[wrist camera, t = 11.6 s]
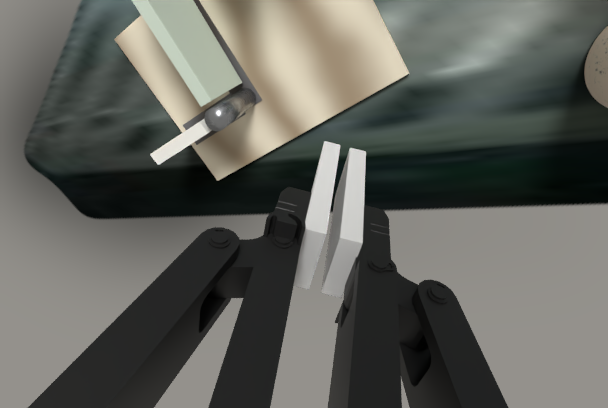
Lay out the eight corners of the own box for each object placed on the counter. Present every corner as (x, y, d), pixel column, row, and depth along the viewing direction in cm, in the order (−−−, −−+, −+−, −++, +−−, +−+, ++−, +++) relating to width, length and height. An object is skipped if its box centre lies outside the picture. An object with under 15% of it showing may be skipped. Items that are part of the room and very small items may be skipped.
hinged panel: (154, -42, 36) (100, -49, 29) (163, -50, 35) (110, -59, 29) (233, 88, 40) (201, 107, 33) (242, 82, 39) (211, 100, 33)
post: (249, 84, 40) (216, 104, 33) (260, 101, 40) (230, 124, 33) (234, 94, 40) (199, 115, 34) (245, 110, 41) (213, 135, 34)
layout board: (308, -132, 31) (306, -134, 30) (409, 72, 36) (409, 73, 36) (117, 38, 41) (113, 39, 40) (219, 179, 46) (217, 181, 46)
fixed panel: (231, 100, 40) (199, 121, 34) (238, 110, 41) (207, 133, 34) (187, 130, 43) (149, 154, 37) (193, 139, 43) (158, 165, 37)
